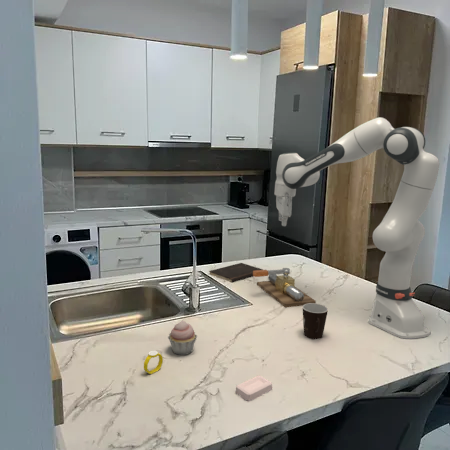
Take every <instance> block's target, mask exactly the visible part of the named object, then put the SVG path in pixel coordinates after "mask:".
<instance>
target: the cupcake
mask: <svg viewBox="0 0 450 450" xmlns="http://www.w3.org/2000/svg"><path fill="white" fill-rule="evenodd" d="M197 337H198V335H197V334H196V332H195V330H194V327H193V326H192V324H189V323H187V322H186V321H184V320H181V321H180V322H178V323H176V324H175V325H174V327H173V328H171V332H169V333H168V336H167V339H168V340H169V342H170V346H171V350H172V352H173V353H174V354H176V355H180V356H181V355H183V356H186V355H189V354H191V353H192V352H193V350H194V345H195V343H196V341H197Z"/></svg>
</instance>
